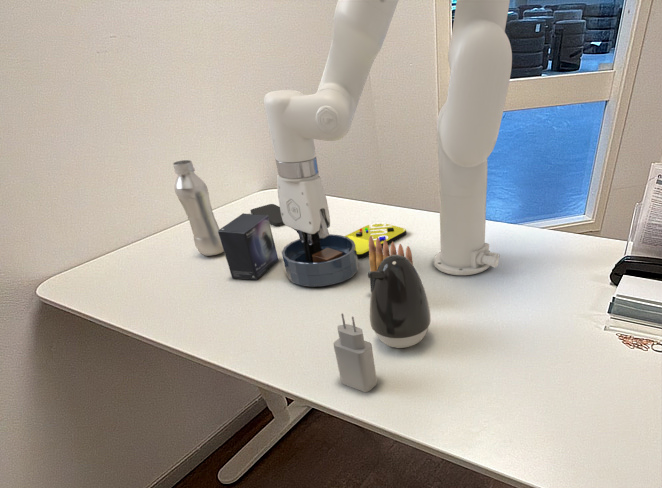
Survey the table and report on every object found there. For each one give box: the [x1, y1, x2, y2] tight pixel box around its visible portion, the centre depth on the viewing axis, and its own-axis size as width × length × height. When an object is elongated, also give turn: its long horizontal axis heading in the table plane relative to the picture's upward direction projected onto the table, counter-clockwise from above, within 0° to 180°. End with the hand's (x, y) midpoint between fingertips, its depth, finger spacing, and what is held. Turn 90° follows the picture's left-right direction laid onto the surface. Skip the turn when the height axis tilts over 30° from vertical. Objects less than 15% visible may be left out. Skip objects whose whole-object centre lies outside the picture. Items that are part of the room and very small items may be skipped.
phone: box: [250, 203, 285, 227], centre depth 131 cm, size 7×1×15 cm
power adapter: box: [332, 313, 378, 393], centre depth 71 cm, size 3×5×12 cm, turn 60°
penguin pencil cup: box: [367, 254, 432, 349], centre depth 78 cm, size 10×10×15 cm
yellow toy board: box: [344, 222, 407, 260], centre depth 116 cm, size 18×11×2 cm, turn 146°
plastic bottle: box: [172, 159, 224, 257], centre depth 107 cm, size 6×7×20 cm
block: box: [312, 248, 343, 263], centre depth 101 cm, size 4×4×4 cm
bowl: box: [281, 233, 360, 288], centre depth 102 cm, size 15×15×6 cm
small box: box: [218, 213, 279, 281], centre depth 103 cm, size 11×6×10 cm, turn 168°
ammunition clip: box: [368, 236, 414, 292], centre depth 90 cm, size 11×2×12 cm, turn 54°
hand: (314, 259), depth 103 cm, fingers closed
